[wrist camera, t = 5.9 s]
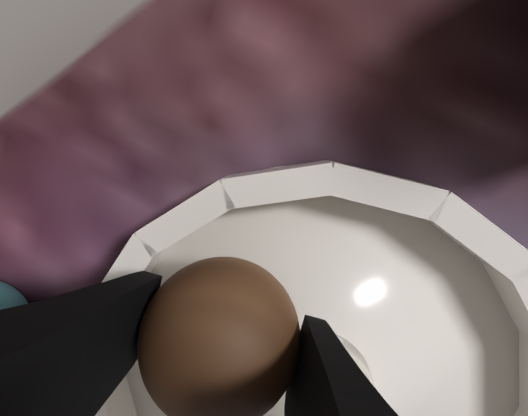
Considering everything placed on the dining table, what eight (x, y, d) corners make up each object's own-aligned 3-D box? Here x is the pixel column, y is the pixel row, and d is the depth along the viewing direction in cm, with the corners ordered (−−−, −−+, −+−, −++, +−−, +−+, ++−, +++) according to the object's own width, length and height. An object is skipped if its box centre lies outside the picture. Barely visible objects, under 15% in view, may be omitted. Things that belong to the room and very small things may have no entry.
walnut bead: (277, 366, 11) (271, 505, 7) (162, 332, 11) (85, 448, 7) (314, 258, 10) (334, 341, 6) (188, 221, 10) (117, 277, 6)
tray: (438, 571, 15) (465, 649, 13) (93, 466, 16) (59, 521, 14) (615, 230, 11) (700, 252, 9) (145, 114, 12) (109, 107, 10)
